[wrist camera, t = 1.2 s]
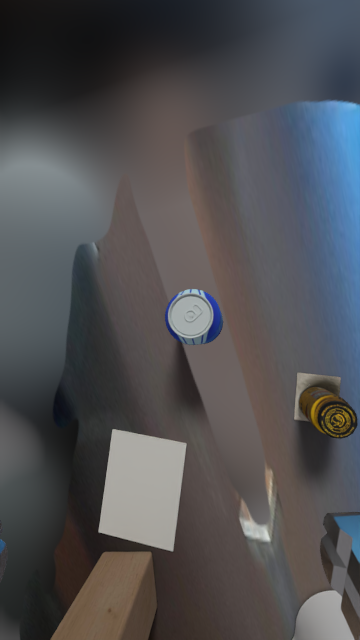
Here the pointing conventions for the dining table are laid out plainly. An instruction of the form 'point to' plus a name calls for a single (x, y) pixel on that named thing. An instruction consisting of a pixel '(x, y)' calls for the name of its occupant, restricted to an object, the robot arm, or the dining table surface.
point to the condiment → (324, 405)
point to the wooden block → (113, 600)
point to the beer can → (193, 317)
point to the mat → (143, 489)
